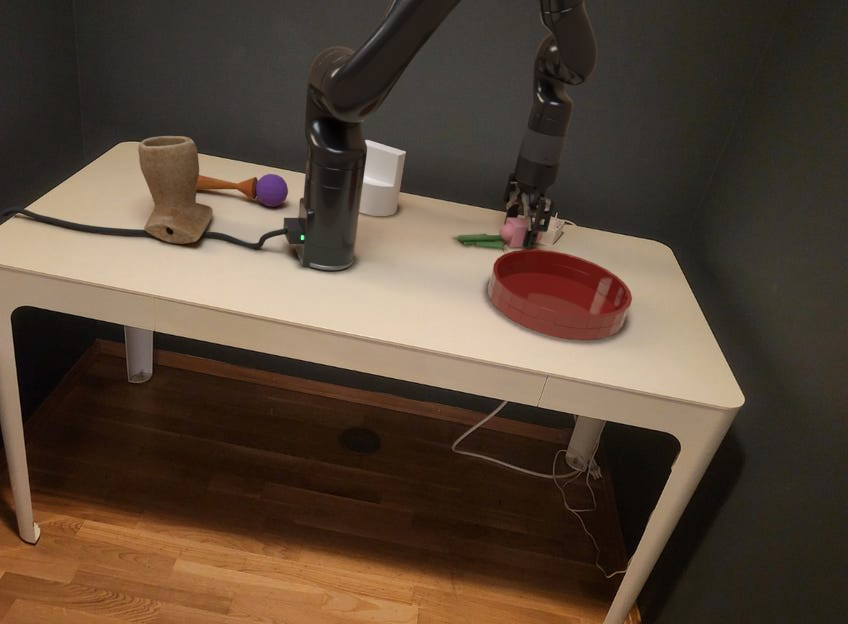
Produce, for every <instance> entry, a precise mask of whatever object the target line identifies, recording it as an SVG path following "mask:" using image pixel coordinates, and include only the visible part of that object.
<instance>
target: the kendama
mask: <svg viewBox="0 0 848 624" xmlns="http://www.w3.org/2000/svg"><path fill="white" fill-rule="evenodd" d="M197 190H236V191H238V192H240V193H242V194H243V195H245V196H247V197H249V198H250V199H251V200H254V201H255V200H256V199H258V200H259V202H260V203H261V204H263V205H264V206H266V207H277V206H281V205H282V204H283V203H284V202H285V201H286V199H287V197H288V194H289V188H288V184H287V182H286V181H285V179H284V178H283V177H281V176H280V175H278V174H274V173H268V174H265V175H263V176H262V177H260V178H259V179H258V177H257V176H254V177H252V178H248V179H246V180H243V181H240V182H237V183H236V182H232V181H227V180H224V179H220V178H214V177H211V176H205V175H201V174H199V177H198V182H197V188H196V191H197Z"/></svg>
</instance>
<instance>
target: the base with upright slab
mask: <svg viewBox="0 0 848 624" xmlns="http://www.w3.org/2000/svg"><path fill="white" fill-rule="evenodd" d="M365 142H366V145H367V157H366V165H365V173H364V180H363V187H362V195H361V202H360V210H359V213H362V214H364V215H367V216H372V217H388V216H392V215H394V214H396V213H397V209H398V204H399V199H400V198H399V197H400V191H401V185H402V178H403V172H404V167H405V159H406V153H407V151H405V150H403V149H399V148H395V147H392V146H389V145H385V144H382V143H379V142H376V141H373V140H370V139H365Z"/></svg>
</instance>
